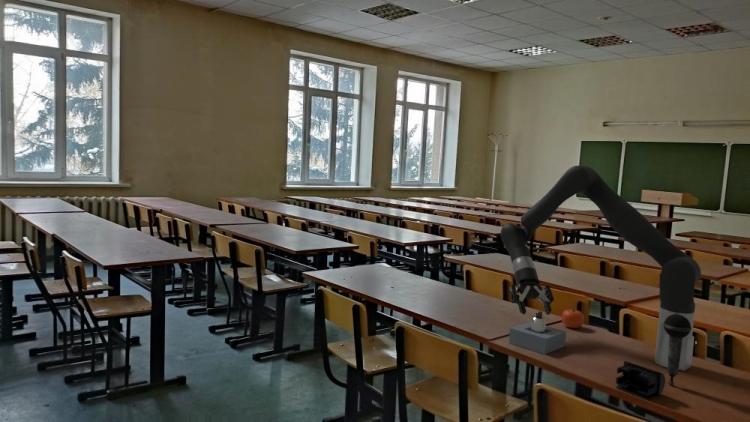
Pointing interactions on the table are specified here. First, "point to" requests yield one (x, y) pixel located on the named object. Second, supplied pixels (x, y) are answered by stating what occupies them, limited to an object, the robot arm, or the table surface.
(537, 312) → the silver bottle
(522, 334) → the grey block with hole
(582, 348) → the table surface
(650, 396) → the end cap
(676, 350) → the microphone
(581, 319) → the pumpkin
